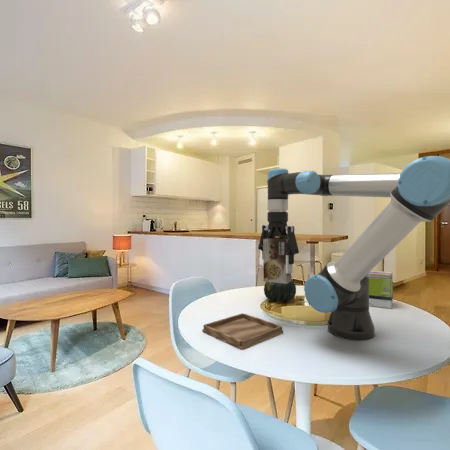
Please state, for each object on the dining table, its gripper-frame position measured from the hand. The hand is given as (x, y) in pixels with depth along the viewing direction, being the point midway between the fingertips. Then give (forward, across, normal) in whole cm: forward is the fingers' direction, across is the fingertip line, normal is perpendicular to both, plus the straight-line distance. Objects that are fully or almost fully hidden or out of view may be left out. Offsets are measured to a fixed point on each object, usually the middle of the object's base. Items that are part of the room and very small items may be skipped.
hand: (277, 270), depth 112 cm
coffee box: (+4, 0, 0) cm, 4 cm away
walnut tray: (+20, +2, +15) cm, 25 cm away
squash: (+21, +21, -26) cm, 40 cm away
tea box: (+20, -10, -54) cm, 58 cm away
